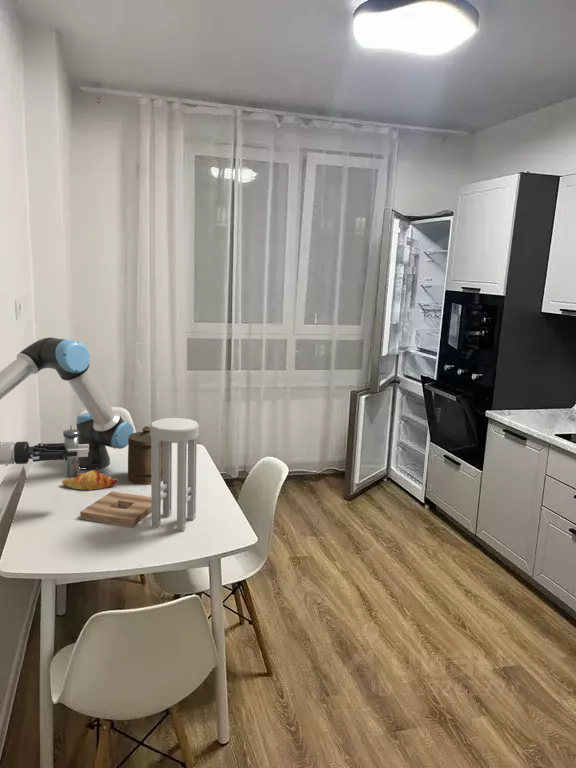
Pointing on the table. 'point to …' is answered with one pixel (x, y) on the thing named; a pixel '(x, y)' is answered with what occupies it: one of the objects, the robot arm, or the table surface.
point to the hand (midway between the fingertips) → (88, 450)
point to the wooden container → (141, 457)
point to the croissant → (90, 481)
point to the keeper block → (112, 514)
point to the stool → (169, 433)
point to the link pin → (71, 462)
